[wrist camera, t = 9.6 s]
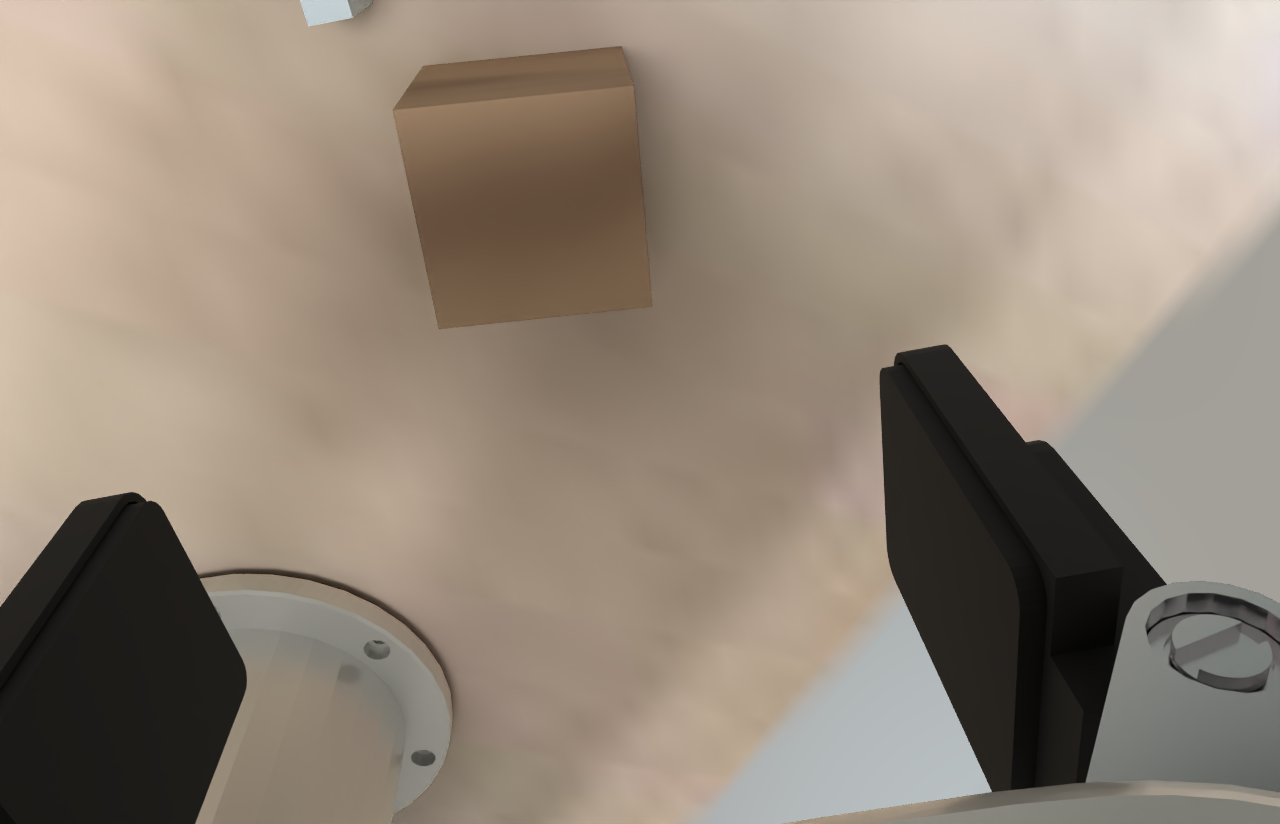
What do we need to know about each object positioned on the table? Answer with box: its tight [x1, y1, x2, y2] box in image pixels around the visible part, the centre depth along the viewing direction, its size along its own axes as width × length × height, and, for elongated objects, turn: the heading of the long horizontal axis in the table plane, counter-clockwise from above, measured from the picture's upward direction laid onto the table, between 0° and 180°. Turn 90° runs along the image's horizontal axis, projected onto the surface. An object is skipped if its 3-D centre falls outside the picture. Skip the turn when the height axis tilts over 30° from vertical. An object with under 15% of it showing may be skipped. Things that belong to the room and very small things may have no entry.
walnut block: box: [393, 46, 652, 329], centre depth 23 cm, size 5×5×5 cm
